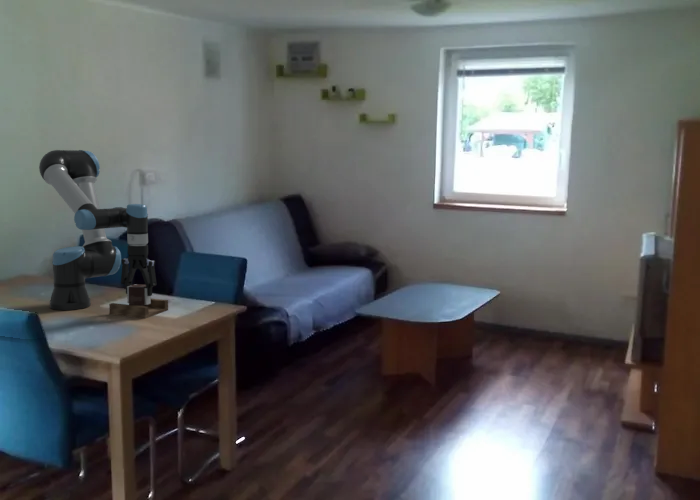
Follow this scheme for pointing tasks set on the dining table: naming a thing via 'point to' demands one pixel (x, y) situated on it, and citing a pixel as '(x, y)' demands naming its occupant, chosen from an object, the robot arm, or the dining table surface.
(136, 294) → the box
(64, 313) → the dining table surface
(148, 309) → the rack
